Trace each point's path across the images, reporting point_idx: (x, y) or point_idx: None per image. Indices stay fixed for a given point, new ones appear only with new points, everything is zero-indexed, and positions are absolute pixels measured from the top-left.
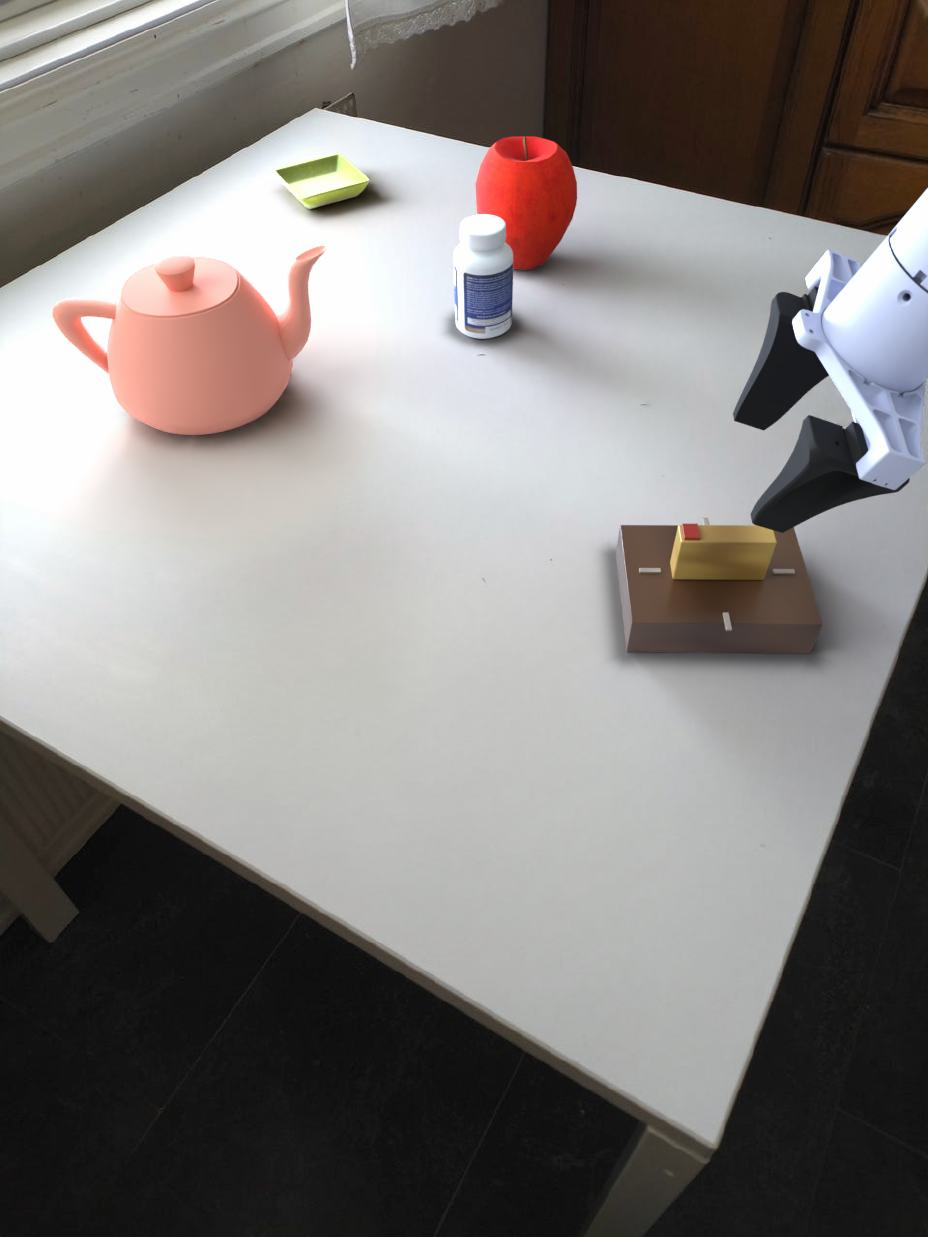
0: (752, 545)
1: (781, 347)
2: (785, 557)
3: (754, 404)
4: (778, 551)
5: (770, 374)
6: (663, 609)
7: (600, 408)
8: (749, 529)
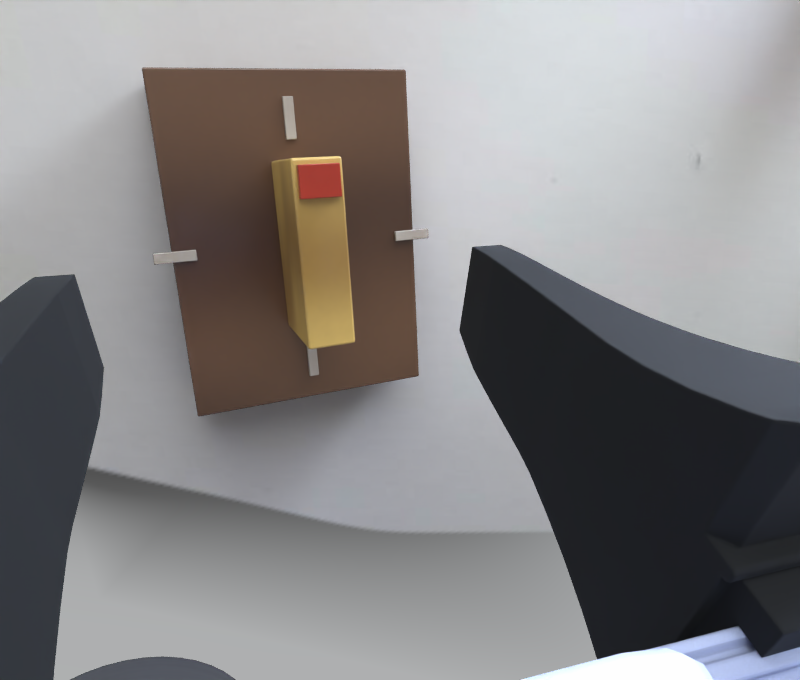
0: (302, 304)
1: (644, 409)
2: (346, 361)
3: (499, 303)
4: (359, 351)
5: (565, 356)
6: (189, 137)
7: (698, 85)
8: (340, 300)
